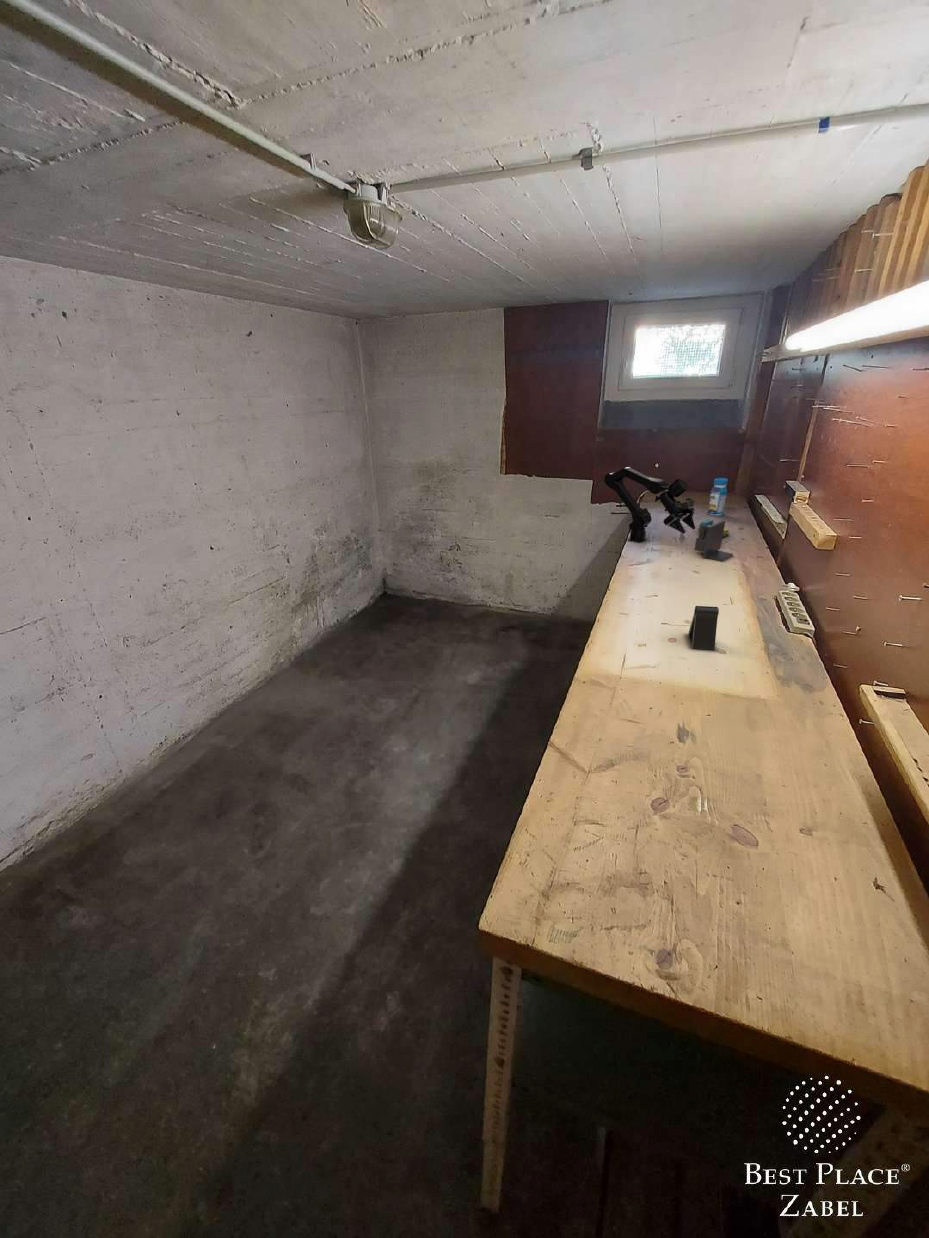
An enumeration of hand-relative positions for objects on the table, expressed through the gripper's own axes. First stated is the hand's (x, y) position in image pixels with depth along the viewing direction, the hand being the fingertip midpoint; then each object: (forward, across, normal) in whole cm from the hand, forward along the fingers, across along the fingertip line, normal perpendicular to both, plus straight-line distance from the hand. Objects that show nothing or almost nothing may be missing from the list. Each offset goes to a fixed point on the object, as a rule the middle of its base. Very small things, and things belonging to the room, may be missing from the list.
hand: (689, 530), depth 222 cm
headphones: (+10, 0, 0) cm, 10 cm away
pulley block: (+6, +27, +7) cm, 29 cm away
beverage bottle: (-7, +72, +21) cm, 76 cm away
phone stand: (+39, -81, -26) cm, 93 cm away
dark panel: (+15, 0, -2) cm, 15 cm away
